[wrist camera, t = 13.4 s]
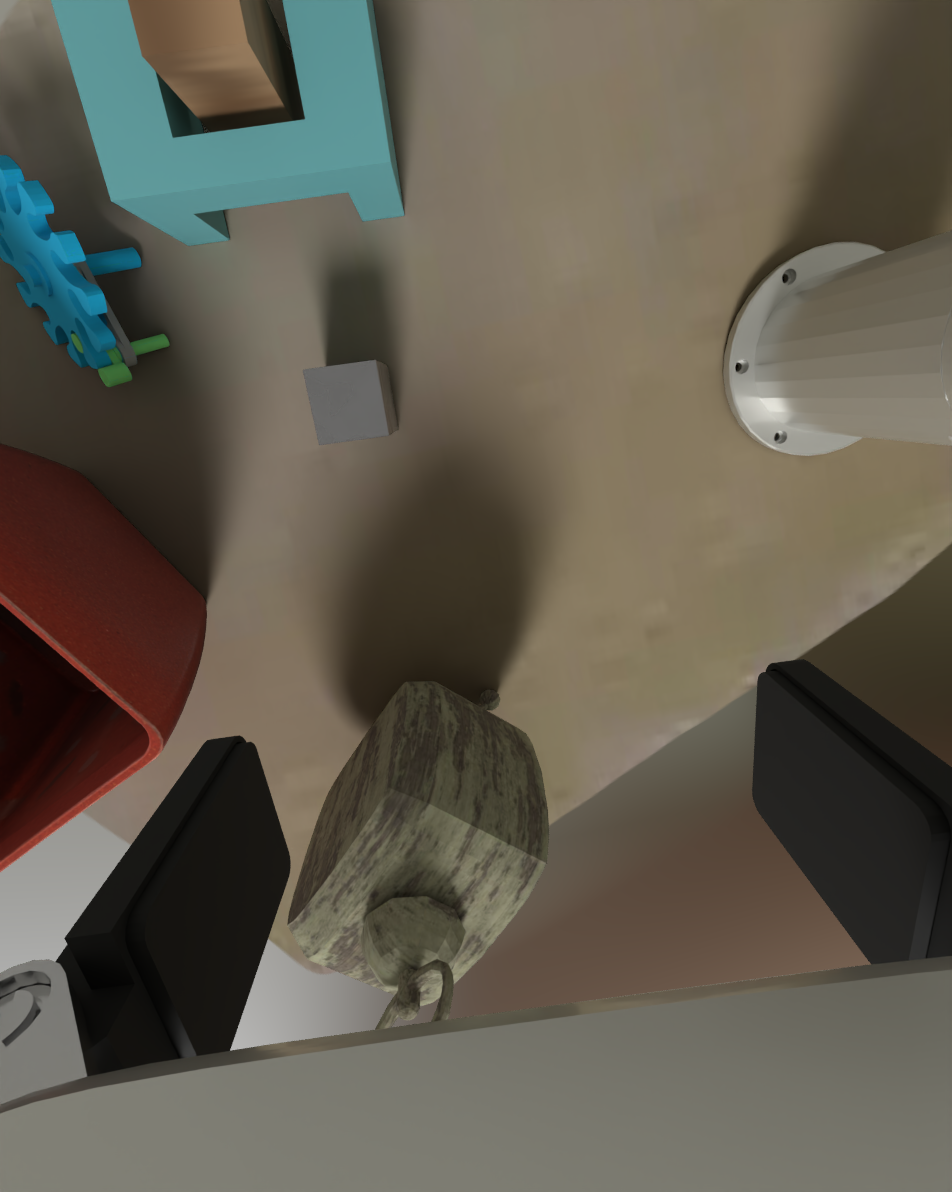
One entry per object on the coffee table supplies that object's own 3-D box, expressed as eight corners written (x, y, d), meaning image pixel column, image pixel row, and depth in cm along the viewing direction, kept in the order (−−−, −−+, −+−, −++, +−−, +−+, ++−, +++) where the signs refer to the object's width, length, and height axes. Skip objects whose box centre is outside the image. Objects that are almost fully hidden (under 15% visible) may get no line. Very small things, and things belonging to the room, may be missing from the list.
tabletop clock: (424, 812, 48) (397, 1215, 24) (330, 766, 46) (202, 1154, 22) (521, 686, 44) (601, 1017, 21) (423, 629, 42) (388, 923, 19)
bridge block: (372, -3, 30) (345, -139, 22) (404, 215, 33) (390, 161, 26) (131, 32, 30) (23, -92, 22) (188, 245, 33) (111, 201, 26)
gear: (-50, 201, 31) (-27, 116, 24) (63, 190, 34) (111, 113, 27) (74, 402, 36) (122, 378, 29) (162, 374, 39) (222, 348, 32)
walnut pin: (303, 81, 31) (218, -103, 19) (319, 167, 32) (247, 42, 21) (232, 90, 31) (104, -88, 19) (250, 176, 32) (141, 56, 21)
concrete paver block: (387, 365, 36) (375, 359, 30) (398, 429, 37) (388, 435, 32) (326, 374, 36) (302, 369, 30) (339, 437, 37) (319, 445, 32)
